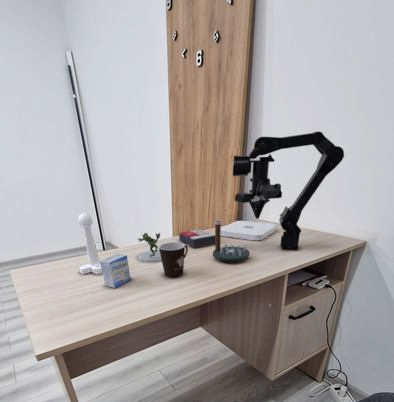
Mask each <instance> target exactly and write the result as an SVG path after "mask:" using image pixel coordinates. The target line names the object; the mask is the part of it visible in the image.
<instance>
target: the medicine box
mask: <svg viewBox="0 0 394 402" xmlns="http://www.w3.org/2000/svg"><path fill="white" fill-rule="evenodd" d="M99 261H100V264H101V269H102V277H103V282H104V286H105V287H109V288H112V289H116V288H118V287H120V286H121V285H123V284H125V283H127V282H130V281H131V280H132V277H131V271H130V265H129V260H128V256H127V255H126V254H121V253H117V254H114V255H112V256H110V257H109V256H108V257H106V258H104V259H102V260H99Z"/></svg>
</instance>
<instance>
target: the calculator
mask: <svg viewBox="0 0 394 402" xmlns="http://www.w3.org/2000/svg"><path fill="white" fill-rule="evenodd" d="M178 239H179V241H180V242H181V243H184V244H187V245H189V246H190V247H191V248H193V249H197V248H202V247H207V246H213V245H215V234H212V233H210V232H208V231H205V230H202V229H193V230H188V231H183V232H182V231H181V232H180V233H178Z"/></svg>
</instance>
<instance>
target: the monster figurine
mask: <svg viewBox="0 0 394 402" xmlns="http://www.w3.org/2000/svg"><path fill="white" fill-rule="evenodd" d="M141 236H142V238H141V237H138V238H137V239H136V241H137V242H139V243H142V242H143V241H145V243H147V244H148V246H149V250H145V251H143V252H141V253H139V254H138V256H137V258H138V260H139V261H141V262H145V263H157V262H162V260H161V255H160V250H159V246H158V245H157V242H158V241H159V239H160V237H161V232H159V233H155V238H156V239H155V238H153V237H152V236H151V235H149V234H148V232H144V234H141ZM154 248H155V249H154Z"/></svg>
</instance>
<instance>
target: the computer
mask: <svg viewBox="0 0 394 402" xmlns="http://www.w3.org/2000/svg"><path fill="white" fill-rule="evenodd" d="M276 231H277V225H276V224H274V223H268V222H267V223H266V222H258V221H249V220H236V221H233V222H231V223H229V224H227V225H225V226H223V227H221V233H220V237H221V236H222V237H226V238H227V237H228V238H235V239H243V240H250V241H262V240H264V239H265V238H267V237H269V236H270V235H272V234H273V233H275V232H276Z"/></svg>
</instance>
